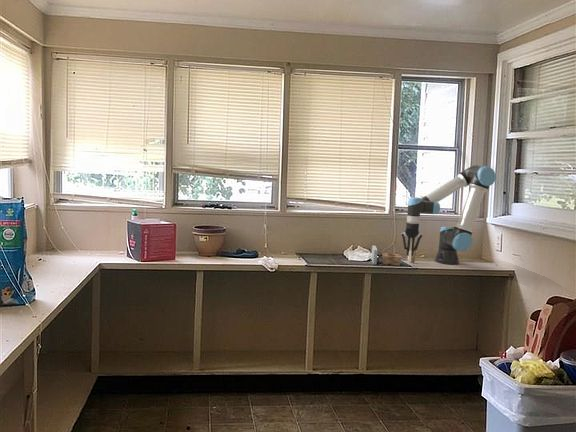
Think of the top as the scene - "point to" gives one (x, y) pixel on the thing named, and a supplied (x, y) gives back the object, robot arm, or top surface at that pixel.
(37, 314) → the top surface
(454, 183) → the robot arm
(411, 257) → the dowel
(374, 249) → the backstop
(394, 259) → the block
